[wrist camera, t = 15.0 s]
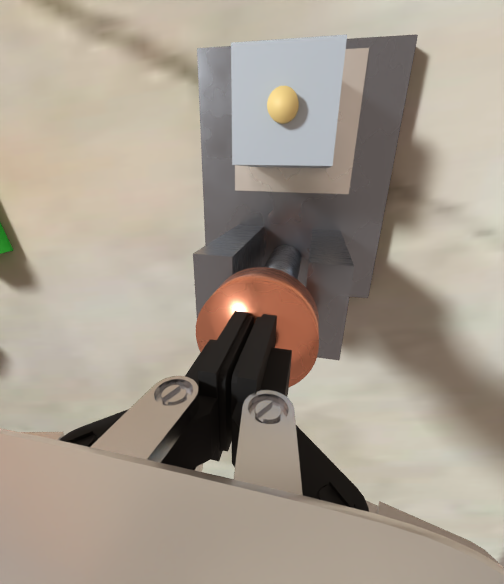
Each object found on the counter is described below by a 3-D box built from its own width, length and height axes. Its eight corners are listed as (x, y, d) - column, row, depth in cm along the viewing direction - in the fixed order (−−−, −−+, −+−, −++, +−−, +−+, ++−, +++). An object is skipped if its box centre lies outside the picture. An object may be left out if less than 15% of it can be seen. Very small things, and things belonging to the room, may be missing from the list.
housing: (256, 81, 18) (227, 37, 12) (338, 78, 17) (348, 29, 12) (255, 167, 20) (229, 164, 14) (328, 168, 19) (333, 165, 13)
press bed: (203, 55, 20) (105, -47, 10) (411, 43, 17) (515, -103, 8) (211, 278, 26) (154, 335, 17) (365, 292, 23) (395, 367, 14)
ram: (254, 225, 22) (192, 277, 11) (322, 229, 21) (326, 289, 10) (253, 287, 24) (198, 382, 13) (314, 293, 23) (311, 400, 12)
